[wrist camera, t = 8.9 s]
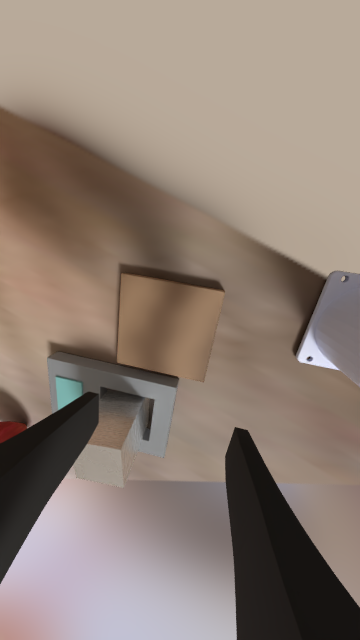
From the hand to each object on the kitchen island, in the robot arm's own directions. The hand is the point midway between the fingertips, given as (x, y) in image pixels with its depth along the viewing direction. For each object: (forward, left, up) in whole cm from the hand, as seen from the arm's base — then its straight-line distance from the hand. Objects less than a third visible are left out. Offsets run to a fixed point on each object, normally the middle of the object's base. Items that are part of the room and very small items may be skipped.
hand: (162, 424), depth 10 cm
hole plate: (+7, +9, -9) cm, 15 cm away
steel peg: (+5, +9, -10) cm, 14 cm away
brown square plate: (+2, -1, -9) cm, 10 cm away
